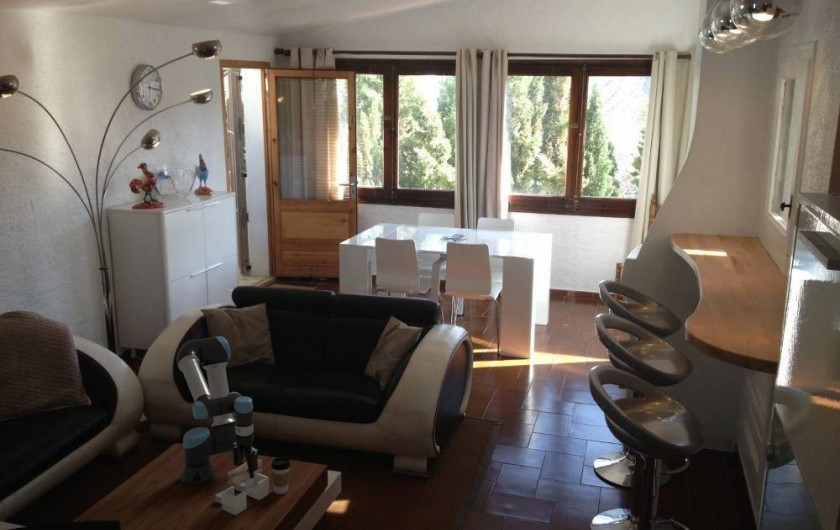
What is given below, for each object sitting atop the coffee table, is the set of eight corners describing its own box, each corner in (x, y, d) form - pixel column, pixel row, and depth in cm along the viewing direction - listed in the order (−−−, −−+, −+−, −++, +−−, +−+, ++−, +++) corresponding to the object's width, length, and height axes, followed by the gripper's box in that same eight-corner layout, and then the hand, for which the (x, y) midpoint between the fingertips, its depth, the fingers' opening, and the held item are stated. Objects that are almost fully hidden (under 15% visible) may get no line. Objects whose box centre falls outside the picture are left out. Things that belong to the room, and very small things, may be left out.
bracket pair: (221, 509, 319) (221, 492, 317) (256, 488, 337) (255, 472, 335) (235, 515, 315) (235, 498, 313) (269, 493, 333) (269, 477, 331)
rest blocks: (215, 501, 325) (215, 495, 324) (240, 486, 338) (240, 480, 337) (223, 504, 323) (223, 498, 322) (248, 489, 335) (248, 483, 334)
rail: (228, 483, 317) (228, 472, 316) (254, 467, 331) (254, 457, 330) (236, 486, 315) (235, 475, 314) (262, 470, 328) (262, 460, 327)
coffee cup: (286, 496, 330) (286, 466, 327) (268, 494, 332) (268, 463, 329) (293, 487, 338) (293, 457, 335) (275, 484, 340) (275, 454, 337)
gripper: (223, 431, 320) (224, 480, 325) (253, 441, 311) (254, 492, 316) (235, 424, 326) (237, 473, 331) (265, 434, 317) (267, 484, 322)
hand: (245, 482), depth 324 cm, fingers closed on rail, 4 cm apart
